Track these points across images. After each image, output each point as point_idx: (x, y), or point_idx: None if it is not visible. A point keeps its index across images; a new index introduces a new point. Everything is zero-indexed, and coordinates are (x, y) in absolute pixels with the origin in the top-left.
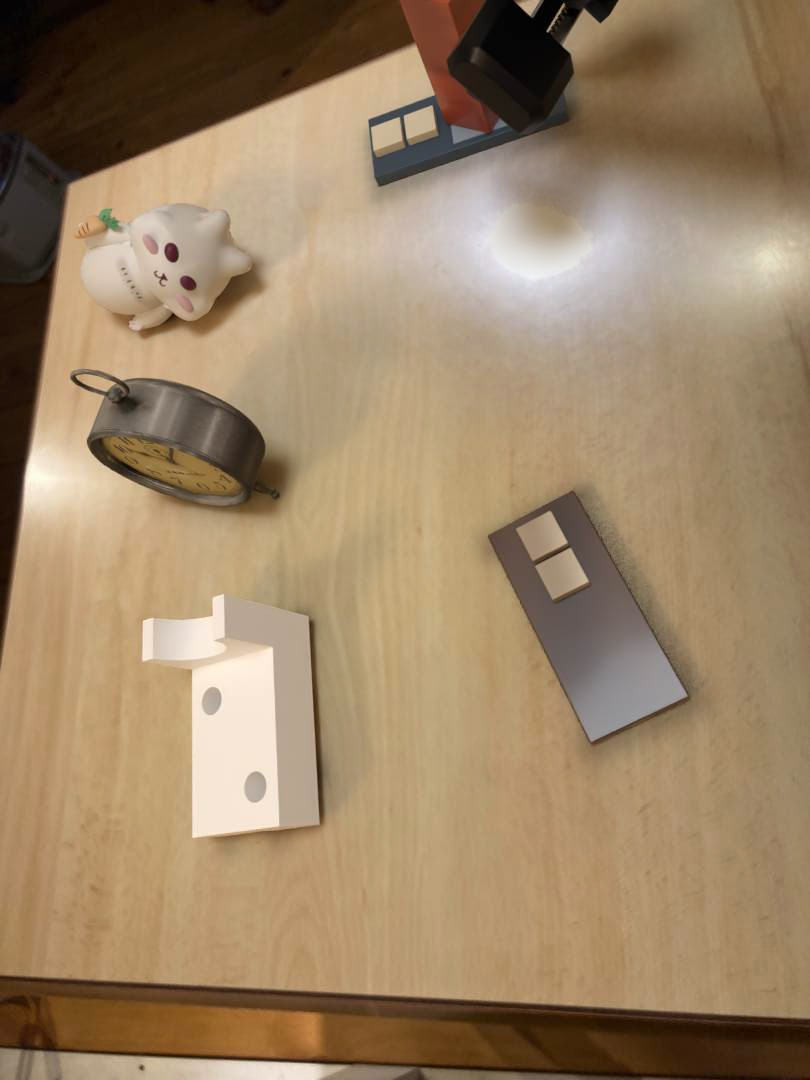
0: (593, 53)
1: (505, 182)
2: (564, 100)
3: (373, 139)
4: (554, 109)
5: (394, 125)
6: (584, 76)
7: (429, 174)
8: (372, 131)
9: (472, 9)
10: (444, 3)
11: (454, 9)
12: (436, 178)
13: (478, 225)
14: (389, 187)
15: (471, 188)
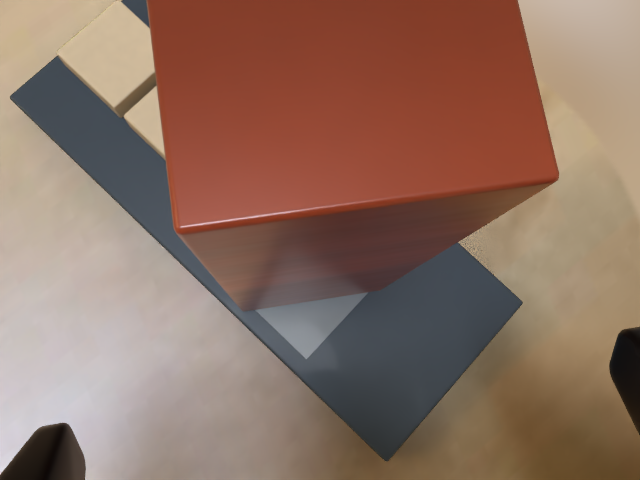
0: (568, 379)
1: (160, 419)
2: (411, 432)
3: (86, 29)
4: (376, 426)
5: (146, 56)
6: (505, 403)
7: (105, 211)
8: (107, 10)
9: (346, 245)
10: (172, 205)
11: (217, 245)
12: (101, 236)
13: (18, 439)
14: (31, 137)
15: (110, 345)
